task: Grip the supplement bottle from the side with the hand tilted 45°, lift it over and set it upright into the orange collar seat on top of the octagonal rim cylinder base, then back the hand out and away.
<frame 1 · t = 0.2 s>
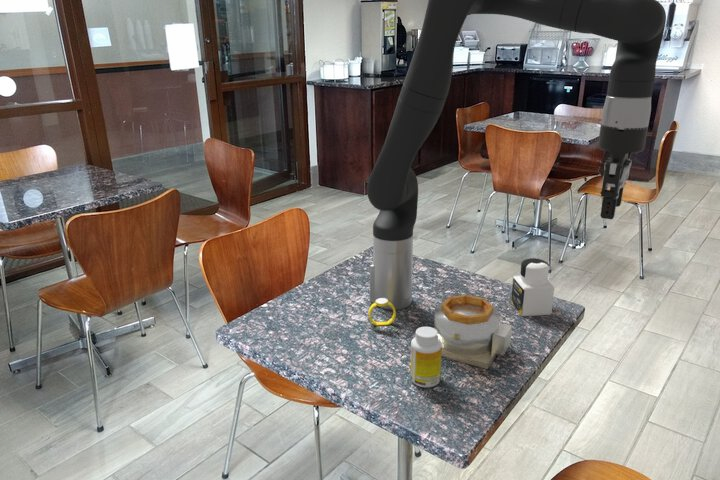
hand: (610, 211, 101), 29 cm above the table, tool pointing down, fingers open, 8 cm apart
medicine bottle: (530, 309, 129), on the table
octagonal rim cylinder base: (465, 343, 114), on the table
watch: (382, 325, 123), on the table
supplement bottle: (425, 381, 102), on the table
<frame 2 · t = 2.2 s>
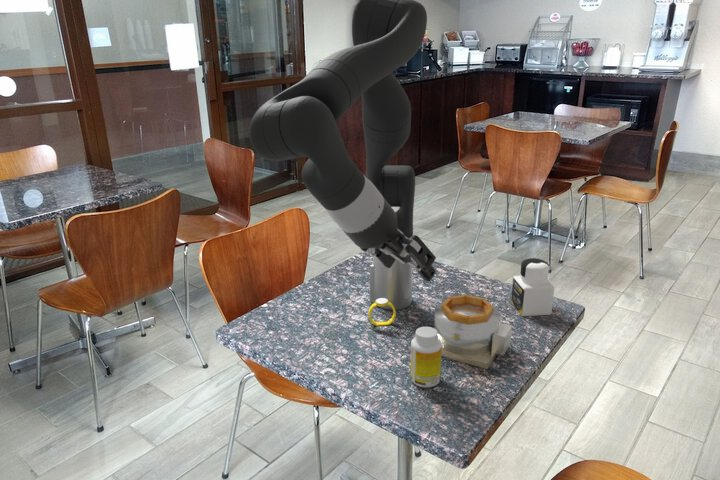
hand: (410, 269, 88), 25 cm above the table, tool tilted 40°, fingers open, 8 cm apart
nothing on the table moved.
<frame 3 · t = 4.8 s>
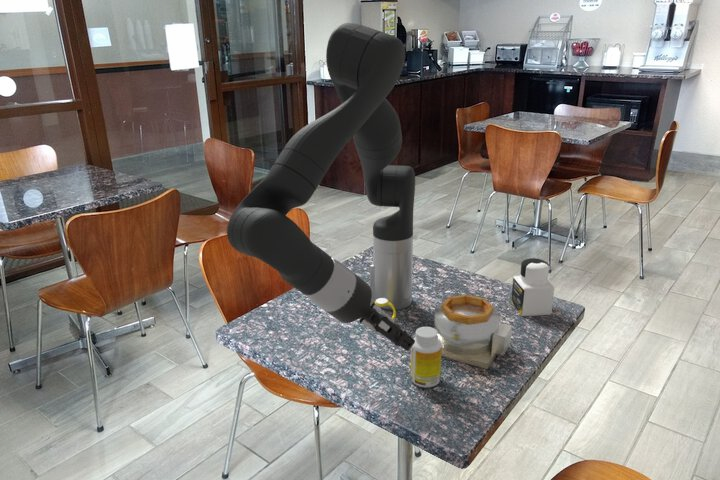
hand: (396, 334, 96), 12 cm above the table, tool tilted 45°, fingers open, 8 cm apart
nothing on the table moved.
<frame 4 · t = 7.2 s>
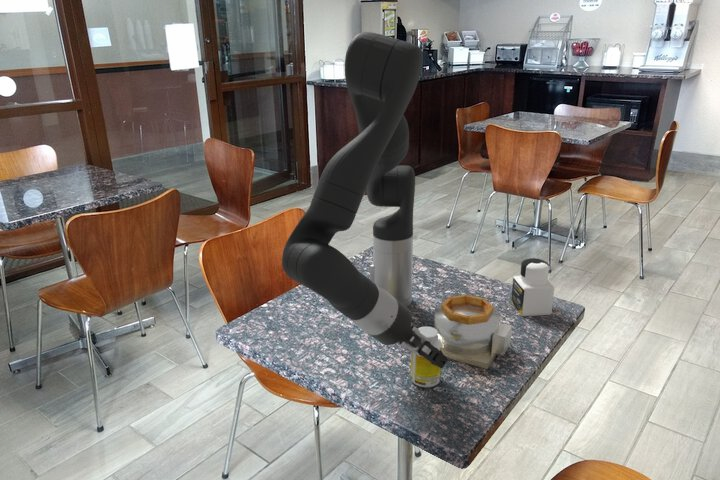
hand: (433, 355, 102), 5 cm above the table, tool tilted 45°, fingers closed on supplement bottle, 5 cm apart
supplement bottle: (425, 380, 102), on the table, touching gripper
everything else where it was.
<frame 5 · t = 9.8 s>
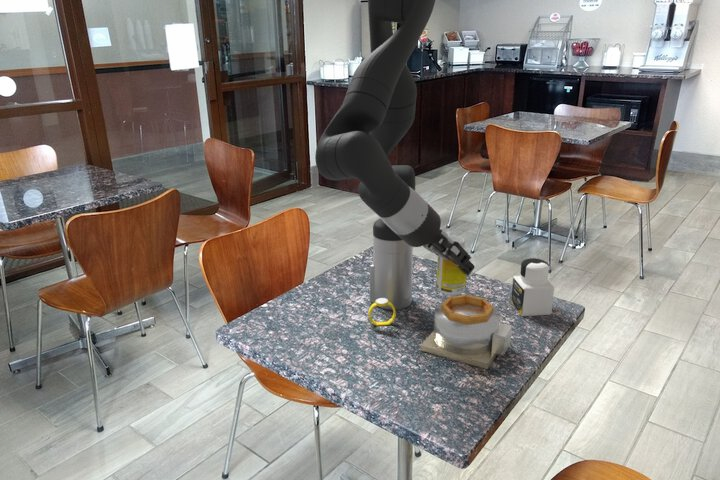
hand: (459, 264, 104), 20 cm above the table, tool tilted 45°, fingers closed on supplement bottle, 5 cm apart
supplement bottle: (450, 290, 105), point 15 cm above the table, touching gripper
everything else where it was.
when the fingers open (13 cm above the table, at t = 12.4 s): supplement bottle drops 1 cm, resting on octagonal rim cylinder base.
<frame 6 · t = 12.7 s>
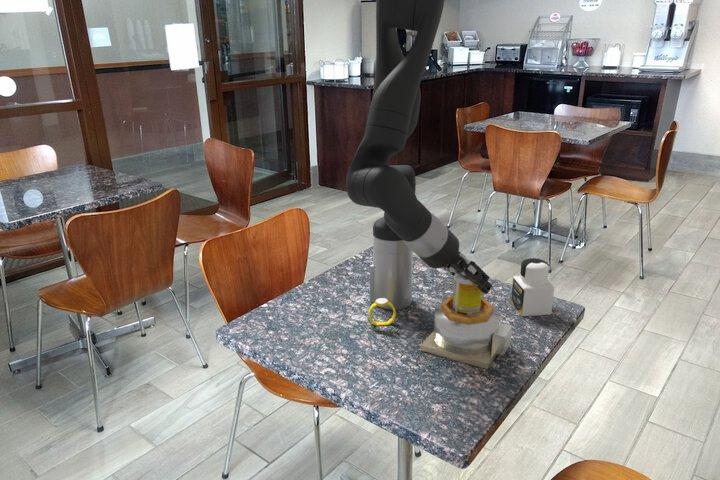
hand: (474, 282, 110), 14 cm above the table, tool tilted 45°, fingers open, 8 cm apart
supplement bottle: (465, 313, 112), point 7 cm above the table, touching octagonal rim cylinder base
everything else where it was.
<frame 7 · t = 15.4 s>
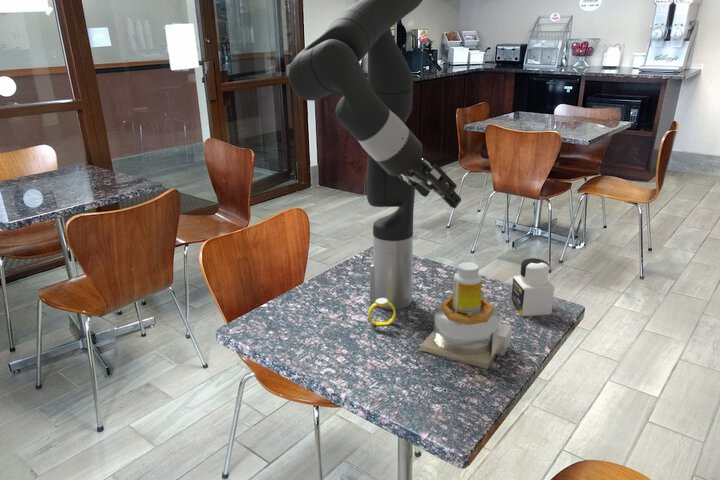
hand: (441, 198, 100), 32 cm above the table, tool tilted 45°, fingers open, 8 cm apart
nothing on the table moved.
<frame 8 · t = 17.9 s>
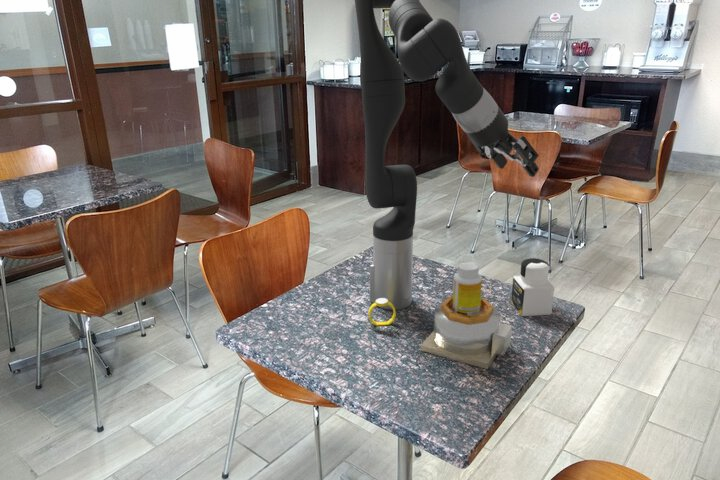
hand: (518, 169, 111), 35 cm above the table, tool tilted 45°, fingers open, 8 cm apart
nothing on the table moved.
at the end: supplement bottle 0.2 cm off-centre on the octagonal rim cylinder base, point 7.0 cm above the octagonal rim cylinder base's base; supplement bottle tilted 1°; the gripper is holding nothing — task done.
